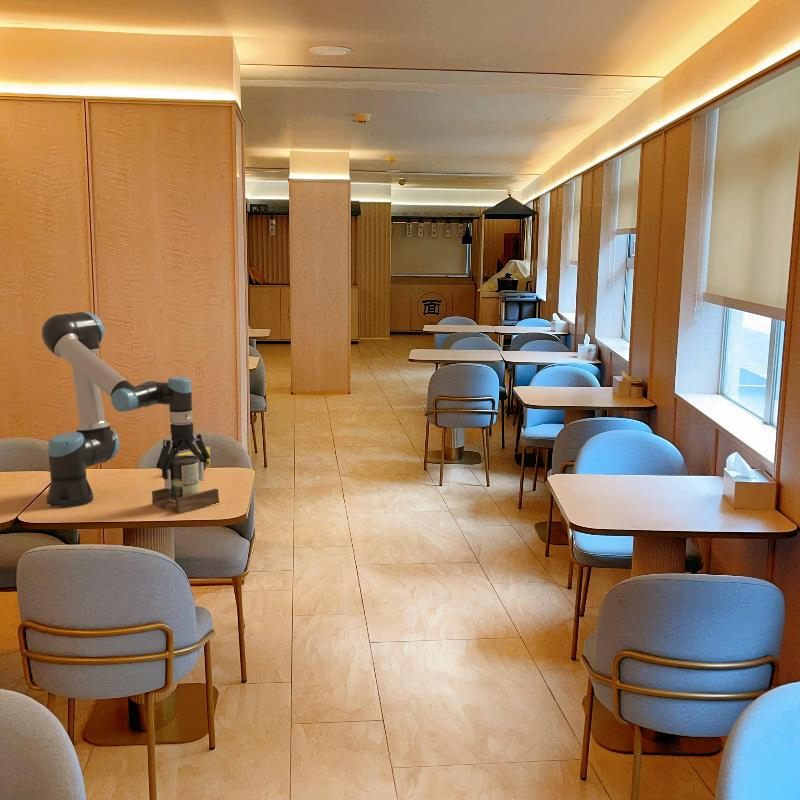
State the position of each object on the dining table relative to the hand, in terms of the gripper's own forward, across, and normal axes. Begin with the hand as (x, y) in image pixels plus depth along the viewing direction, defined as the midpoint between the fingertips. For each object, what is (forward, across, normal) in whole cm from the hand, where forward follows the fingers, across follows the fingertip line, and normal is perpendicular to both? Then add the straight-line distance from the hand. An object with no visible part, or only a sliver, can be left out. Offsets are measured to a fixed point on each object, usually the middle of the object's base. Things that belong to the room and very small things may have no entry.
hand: (184, 484), depth 308 cm
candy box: (+8, +30, +37) cm, 48 cm away
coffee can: (+5, 0, 0) cm, 5 cm away
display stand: (+7, 0, 0) cm, 7 cm away
